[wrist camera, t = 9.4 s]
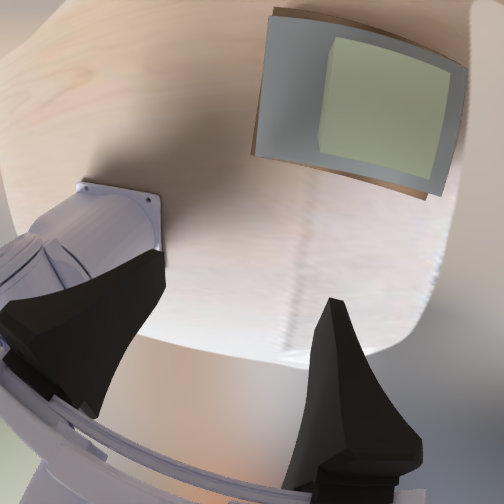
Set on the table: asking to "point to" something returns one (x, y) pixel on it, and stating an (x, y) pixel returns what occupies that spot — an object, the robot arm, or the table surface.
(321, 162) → the slate slab
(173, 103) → the table surface
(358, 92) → the sage cube
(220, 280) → the table surface
